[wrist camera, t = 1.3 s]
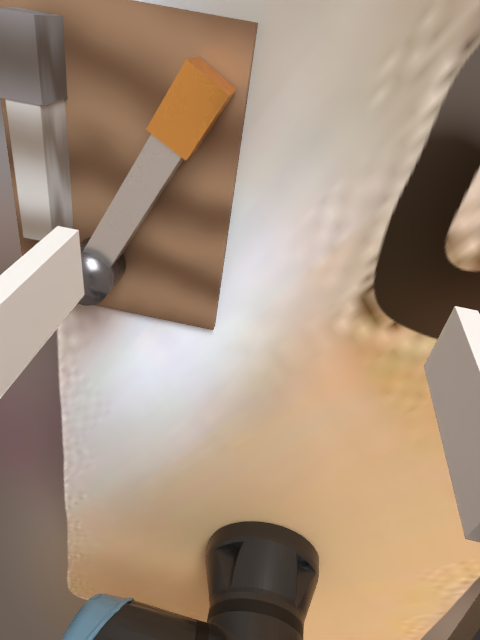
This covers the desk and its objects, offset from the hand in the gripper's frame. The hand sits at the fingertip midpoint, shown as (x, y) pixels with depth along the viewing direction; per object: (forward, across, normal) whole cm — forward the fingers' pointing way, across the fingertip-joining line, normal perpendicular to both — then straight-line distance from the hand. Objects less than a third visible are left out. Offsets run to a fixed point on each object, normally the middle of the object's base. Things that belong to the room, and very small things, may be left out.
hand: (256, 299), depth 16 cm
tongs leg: (+20, +11, +5) cm, 23 cm away
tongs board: (+21, +13, +5) cm, 25 cm away
